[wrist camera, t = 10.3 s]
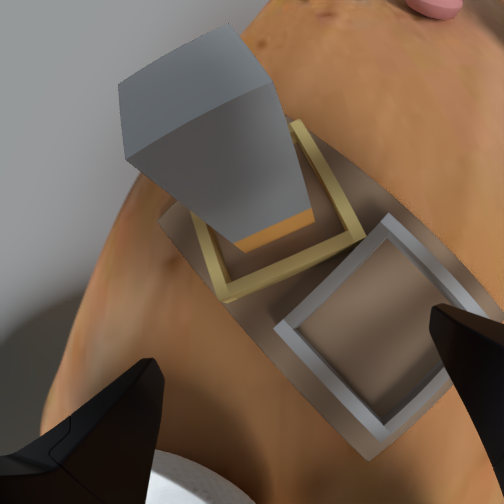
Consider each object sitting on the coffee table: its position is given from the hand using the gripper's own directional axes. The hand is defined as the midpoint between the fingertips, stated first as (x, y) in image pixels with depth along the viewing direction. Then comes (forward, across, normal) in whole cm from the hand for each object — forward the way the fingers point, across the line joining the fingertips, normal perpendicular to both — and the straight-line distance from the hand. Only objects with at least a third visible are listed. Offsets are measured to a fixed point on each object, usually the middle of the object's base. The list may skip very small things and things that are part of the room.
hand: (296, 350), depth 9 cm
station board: (+11, -3, +3) cm, 11 cm away
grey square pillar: (+13, 0, -1) cm, 13 cm away
